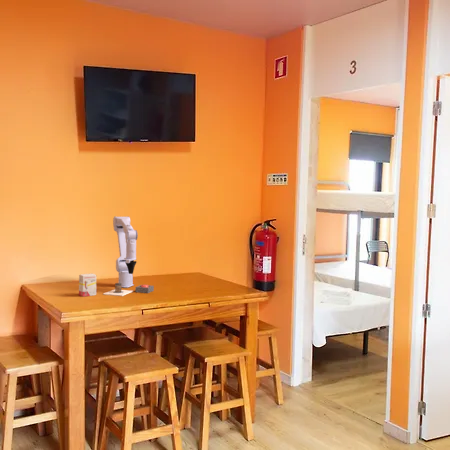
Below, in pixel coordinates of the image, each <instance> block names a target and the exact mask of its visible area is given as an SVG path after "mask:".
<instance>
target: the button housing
mask: <svg viewBox="0 0 450 450" xmlns="http://www.w3.org/2000/svg"><path fill="white" fill-rule="evenodd" d="M141 285H142V284H140V285H138V286H135V293H143V294H150V293H151V292H154V285H149V284H147V285H148V287H141Z"/></svg>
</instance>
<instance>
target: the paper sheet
mask: <svg viewBox="0 0 450 450" xmlns="http://www.w3.org/2000/svg"><path fill="white" fill-rule="evenodd" d="M133 292H134V290H127V289H121V292H120V293H116V292H115V288H114V289H112V290H110V291H109V290H108V291H106V292H103V294H102V295H105V296H115V297H124V296H126V295H128V294H130V293H133Z"/></svg>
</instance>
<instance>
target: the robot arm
mask: <svg viewBox="0 0 450 450" xmlns="http://www.w3.org/2000/svg"><path fill="white" fill-rule="evenodd" d="M112 226H113V231H115V232H116V234H117V242H118V252H119V257H118V258H116V260H115V270H116V272H118V283H122V286H121V288H125V289H127V288H130V287H132V286H135V284H133V283H134V282H133V281H134V279H133V278H134V277H133V274H134V270H135V266H136V264H137V261H136V260H137V240H138V230H136V229H134V227H133V226H132V224H131V217H130V216H114V217H113V219H112Z"/></svg>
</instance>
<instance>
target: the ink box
mask: <svg viewBox="0 0 450 450" xmlns="http://www.w3.org/2000/svg"><path fill="white" fill-rule="evenodd" d="M96 295H97V275H96V273H83V274H82V273H81V274H79V275H78V296H80V297H84V298H85V297H90V296H96Z"/></svg>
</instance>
